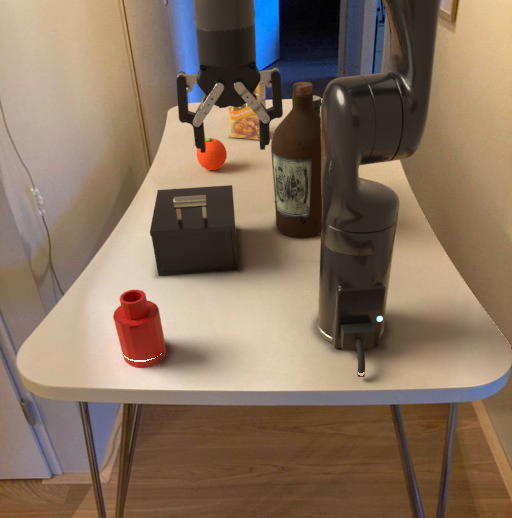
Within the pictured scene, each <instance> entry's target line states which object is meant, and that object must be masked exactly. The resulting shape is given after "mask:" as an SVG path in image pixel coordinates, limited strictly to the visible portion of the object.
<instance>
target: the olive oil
mask: <svg viewBox="0 0 512 518" xmlns="http://www.w3.org/2000/svg"><path fill="white" fill-rule="evenodd" d="M313 85H314V84H313V83H311V82H310V81H309V82H307V81H298V82H295V83H293V84H292V90H293V92H292V93H291V104H292V105H291V106H292V107H291V110H290V112H288V114H286V116H285V117H284V118H283V119H282V121H281V122H280V123H278V125H277V126H276V128H275V130H274V132H273V135H272V138H271V141H270V142H271V143H270V150H271V151H270V152H271V153H270V154H271V163H272V164H271V165H272V175H273V177H272V178H273V192H274V207H275V210H274V211H275V225H276V229H277V231H278V232H279V233H280V234H282V235H284V236H286V237H289V238H296V239H306V238H312V237H316V236H318V235H321V223H322V195H321V136H320V116H319V115H318V114H317V113H316V112H315V111H314V109H313V96H314V92H313V89H314V88H313Z"/></svg>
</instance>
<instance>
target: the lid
mask: <svg viewBox="0 0 512 518" xmlns="http://www.w3.org/2000/svg"><path fill="white" fill-rule="evenodd" d="M154 202H155V203H154V207H153V213H152V218H151V222H150V223H151V224H150V229H149V236H150V237H151V236H162V235H177V234H192V233H207V232H222V231H235V230H236V231H237V229H236V217H235V203H234V190H233V184H231V185H229V184H228V185H213V186H198V187H197V186H196V187H184V188H183V187H182V188H171V189H170V188H169V189H167V188H166V189H157V192H156V198H155V201H154Z"/></svg>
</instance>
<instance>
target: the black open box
mask: <svg viewBox="0 0 512 518" xmlns="http://www.w3.org/2000/svg"><path fill="white" fill-rule="evenodd" d="M150 237H151V243H152V248H153V253H154V258H155V259H154V260H155V264H156V270H157V275H158V277H162V276H177V275H190V274H191V275H192V274H205V273H219V272H234V271H239V258H238V245H237V243H238V242H237V229H236V230H235V231H222V232H207V233H192V234H177V235H162V236H150Z"/></svg>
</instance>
